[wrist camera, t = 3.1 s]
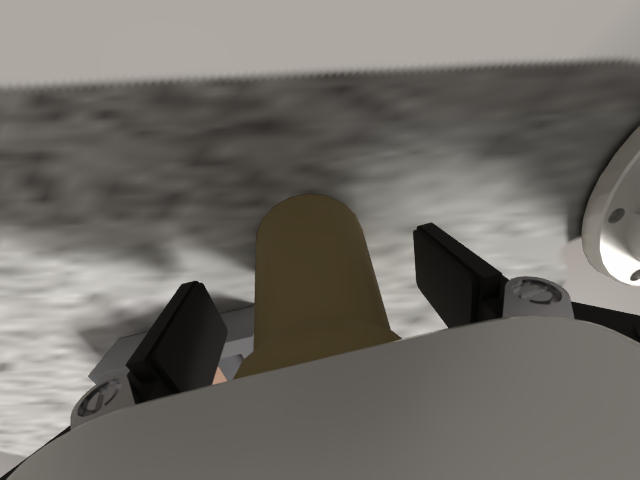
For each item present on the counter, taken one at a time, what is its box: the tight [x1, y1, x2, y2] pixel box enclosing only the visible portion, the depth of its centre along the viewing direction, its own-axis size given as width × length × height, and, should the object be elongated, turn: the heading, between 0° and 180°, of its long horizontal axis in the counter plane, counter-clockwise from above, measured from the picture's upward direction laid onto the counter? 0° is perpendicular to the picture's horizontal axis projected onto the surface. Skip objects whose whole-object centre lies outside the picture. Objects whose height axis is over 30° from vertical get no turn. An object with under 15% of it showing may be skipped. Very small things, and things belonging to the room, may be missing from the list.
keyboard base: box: [88, 306, 254, 384], centre depth 18 cm, size 9×19×2 cm, turn 13°
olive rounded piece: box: [233, 194, 402, 380], centre depth 9 cm, size 6×6×11 cm
